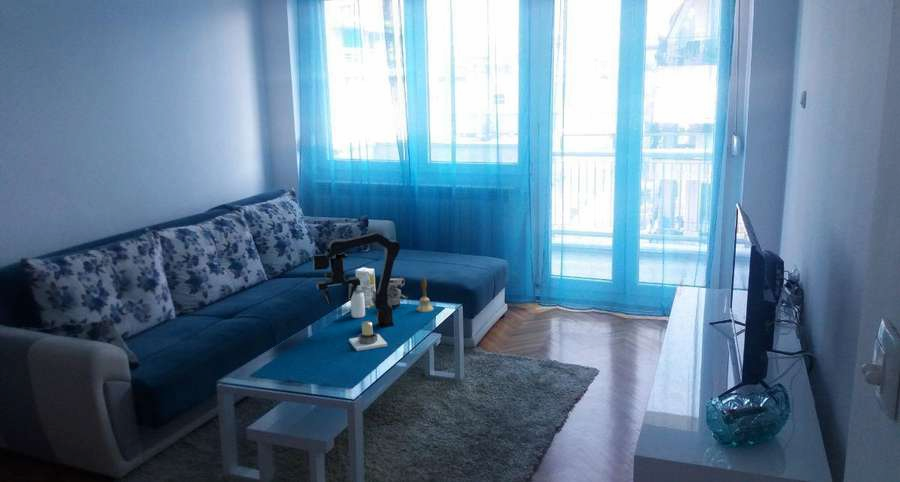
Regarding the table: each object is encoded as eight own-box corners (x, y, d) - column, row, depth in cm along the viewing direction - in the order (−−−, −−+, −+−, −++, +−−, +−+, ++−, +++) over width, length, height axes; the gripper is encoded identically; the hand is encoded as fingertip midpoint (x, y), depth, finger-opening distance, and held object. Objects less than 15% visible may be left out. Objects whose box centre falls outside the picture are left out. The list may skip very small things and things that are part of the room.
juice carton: (368, 309, 340) (366, 271, 336) (355, 306, 344) (353, 269, 340) (378, 305, 346) (376, 268, 342) (365, 302, 351) (363, 266, 347)
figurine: (401, 311, 334) (399, 281, 331) (381, 309, 339) (379, 279, 336) (410, 306, 342) (409, 277, 339) (390, 304, 347) (389, 275, 344)
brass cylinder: (371, 338, 294) (370, 320, 293) (374, 341, 290) (373, 323, 289) (361, 340, 293) (360, 322, 291) (364, 343, 289) (363, 325, 287)
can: (366, 314, 332) (365, 290, 330) (363, 318, 326) (362, 293, 324) (353, 314, 333) (351, 290, 331) (350, 318, 327) (348, 293, 324)
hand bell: (433, 311, 332) (432, 279, 329) (416, 312, 333) (414, 280, 329) (433, 306, 340) (432, 275, 337) (417, 307, 341) (415, 275, 337)
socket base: (378, 336, 300) (378, 334, 300) (387, 346, 288) (387, 343, 288) (349, 341, 295) (349, 338, 295) (356, 351, 284) (356, 348, 283)
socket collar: (374, 336, 296) (373, 331, 296) (379, 342, 290) (378, 337, 289) (356, 339, 294) (356, 334, 293) (361, 345, 287) (361, 339, 286)
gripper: (353, 261, 315) (355, 294, 319) (312, 266, 309) (315, 300, 312) (359, 267, 305) (361, 301, 309) (317, 272, 299) (320, 306, 302)
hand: (339, 302), depth 308 cm, fingers open, 9 cm apart
